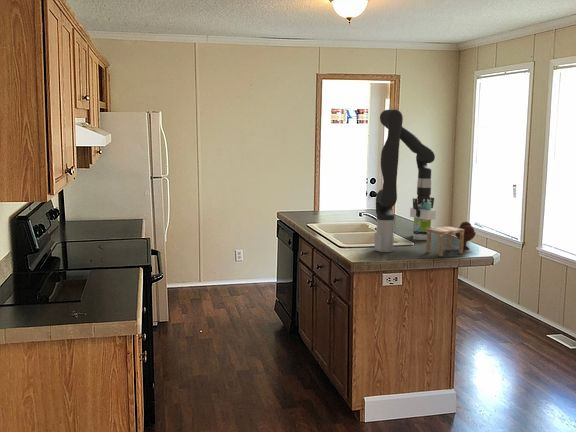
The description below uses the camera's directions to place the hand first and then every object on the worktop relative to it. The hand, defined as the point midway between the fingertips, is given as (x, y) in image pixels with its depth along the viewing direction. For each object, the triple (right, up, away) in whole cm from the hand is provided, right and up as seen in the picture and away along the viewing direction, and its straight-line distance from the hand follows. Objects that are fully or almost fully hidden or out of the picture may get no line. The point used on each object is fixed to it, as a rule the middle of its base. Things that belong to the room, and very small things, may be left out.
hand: (422, 216), depth 338 cm
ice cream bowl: (+23, -18, -1) cm, 29 cm away
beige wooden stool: (+9, -20, -13) cm, 25 cm away
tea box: (+6, -13, +30) cm, 34 cm away
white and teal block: (0, -1, 0) cm, 1 cm away
